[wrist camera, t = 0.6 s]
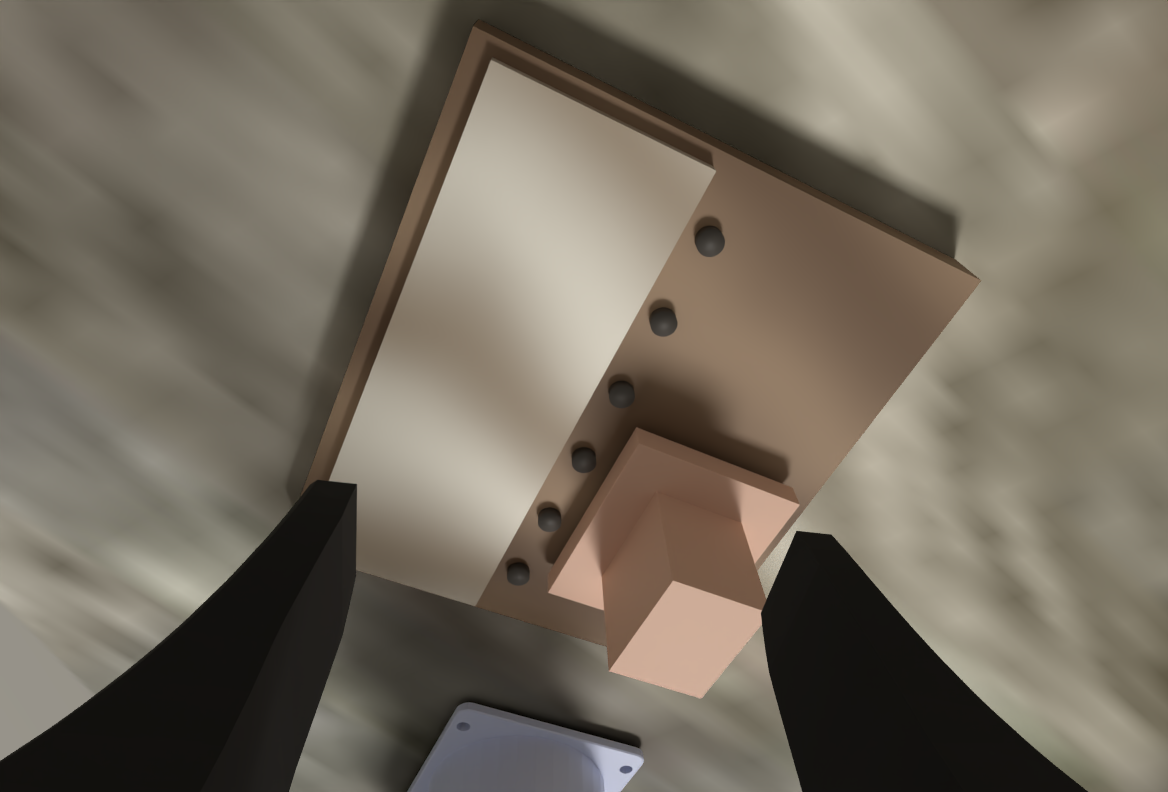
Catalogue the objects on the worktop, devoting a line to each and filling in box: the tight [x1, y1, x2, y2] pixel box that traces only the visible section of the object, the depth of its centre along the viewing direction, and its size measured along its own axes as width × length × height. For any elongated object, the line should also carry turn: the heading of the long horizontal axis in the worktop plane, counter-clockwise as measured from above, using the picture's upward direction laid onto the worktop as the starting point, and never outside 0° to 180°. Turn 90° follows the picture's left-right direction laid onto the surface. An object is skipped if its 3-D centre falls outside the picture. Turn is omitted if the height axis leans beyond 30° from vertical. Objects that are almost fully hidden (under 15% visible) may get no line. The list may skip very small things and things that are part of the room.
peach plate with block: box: [548, 427, 800, 698], centre depth 22 cm, size 6×5×4 cm
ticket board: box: [300, 19, 981, 647], centre depth 23 cm, size 16×14×2 cm
